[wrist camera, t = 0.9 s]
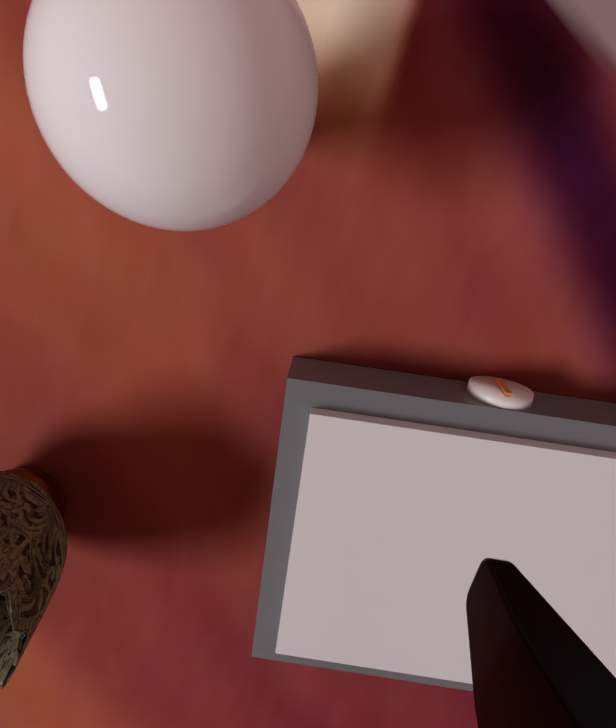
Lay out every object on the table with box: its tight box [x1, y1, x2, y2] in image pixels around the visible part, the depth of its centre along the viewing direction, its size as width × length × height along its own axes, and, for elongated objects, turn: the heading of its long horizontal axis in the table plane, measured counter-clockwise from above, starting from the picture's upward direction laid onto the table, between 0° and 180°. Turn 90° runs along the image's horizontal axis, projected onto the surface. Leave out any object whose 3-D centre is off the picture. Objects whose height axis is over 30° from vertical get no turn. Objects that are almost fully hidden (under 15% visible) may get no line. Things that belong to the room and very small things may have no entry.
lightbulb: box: [23, 0, 318, 232], centre depth 15 cm, size 6×6×11 cm
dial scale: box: [251, 356, 616, 691], centre depth 23 cm, size 14×16×3 cm
